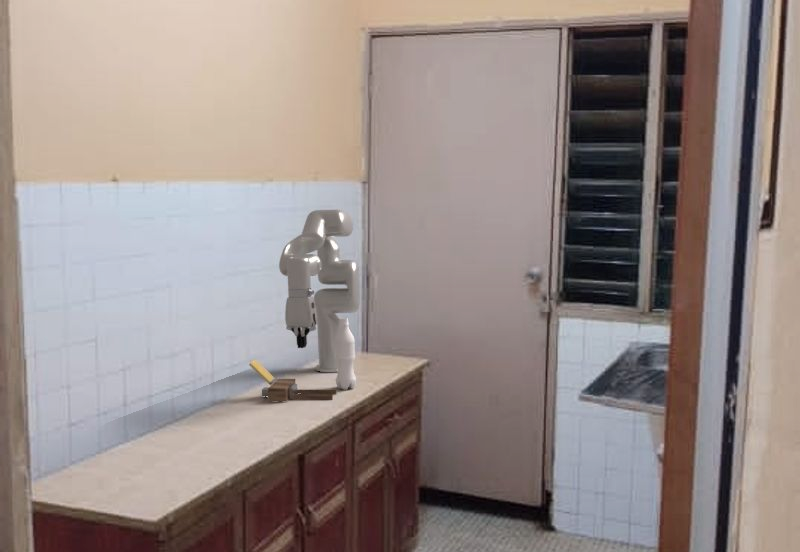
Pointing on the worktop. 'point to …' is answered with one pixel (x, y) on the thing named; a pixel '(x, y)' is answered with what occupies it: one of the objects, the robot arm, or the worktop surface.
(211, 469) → the worktop surface
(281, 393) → the block
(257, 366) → the yellow grey-edged tile
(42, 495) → the worktop surface
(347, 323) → the water bottle
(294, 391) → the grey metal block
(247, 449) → the worktop surface
